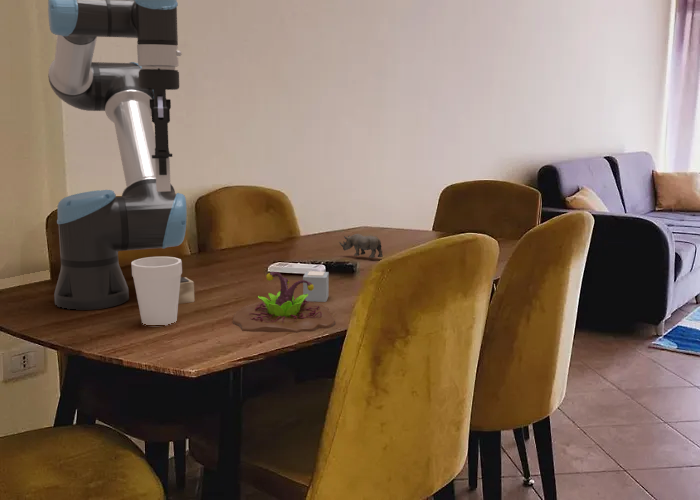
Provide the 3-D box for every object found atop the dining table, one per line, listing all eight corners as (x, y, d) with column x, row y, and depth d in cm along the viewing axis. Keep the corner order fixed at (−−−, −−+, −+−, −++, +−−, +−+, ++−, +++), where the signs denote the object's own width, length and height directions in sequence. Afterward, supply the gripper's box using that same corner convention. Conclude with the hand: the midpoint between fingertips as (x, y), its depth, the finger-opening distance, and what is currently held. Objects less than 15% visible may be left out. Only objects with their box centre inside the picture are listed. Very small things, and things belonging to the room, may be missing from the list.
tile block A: (172, 307, 162) (171, 283, 161) (164, 302, 166) (163, 278, 165) (194, 304, 165) (193, 280, 163) (186, 299, 169) (185, 275, 168)
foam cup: (162, 316, 155) (159, 254, 152) (194, 325, 150) (191, 260, 147) (124, 328, 147) (120, 262, 145) (156, 337, 142) (153, 269, 140)
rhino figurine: (343, 251, 221) (343, 230, 219) (385, 256, 214) (385, 235, 212) (335, 253, 217) (335, 232, 216) (377, 259, 210) (378, 237, 209)
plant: (231, 314, 159) (230, 261, 157) (324, 309, 162) (324, 258, 160) (234, 344, 140) (232, 285, 137) (339, 339, 143) (339, 281, 141)
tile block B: (303, 303, 165) (303, 275, 164) (306, 297, 170) (306, 270, 169) (326, 304, 165) (326, 276, 164) (328, 298, 170) (328, 270, 169)
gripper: (179, 68, 140) (184, 195, 146) (178, 68, 153) (182, 185, 158) (137, 67, 139) (143, 196, 144) (139, 68, 151) (144, 186, 156)
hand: (163, 190), depth 151 cm, fingers closed
